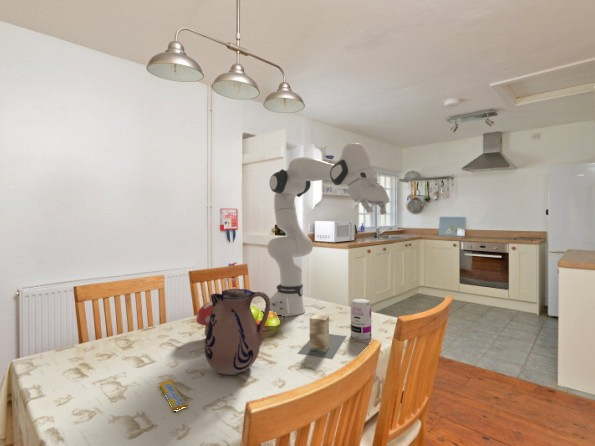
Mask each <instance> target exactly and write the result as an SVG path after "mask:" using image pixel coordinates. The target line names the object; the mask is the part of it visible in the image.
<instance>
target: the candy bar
mask: <svg viewBox="0 0 595 446" xmlns="http://www.w3.org/2000/svg"><path fill="white" fill-rule="evenodd" d="M174 382H175V381H174V379H173V378H169V379H168V380H164V381H161V382H158V386H159V385H160V386H159V388H160V390H161V389H162V390H163V391H162V390H161V391H162V393H163V392H164V393H165V395H166V396H167V398H168V400H169V402H170V404H171V406H172V408H173V410H172V412H173V411H174V410H179V409H181V408H182V407H187V406H188V407H189V403H188V402H187V403H185V400H184V399H183V397H182V396H181V394H180V393H179V390H178V389H177V387H176V385H175V383H174ZM164 393H163V394H164ZM165 395H164V396H165ZM167 398H166V399H167ZM168 400H167V401H168ZM169 402H168V403H169ZM170 404H169V405H170ZM171 406H170V407H171ZM188 407H187V408H188ZM172 408H171V409H172ZM177 408H178V409H177Z"/></svg>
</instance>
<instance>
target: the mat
mask: <svg viewBox="0 0 595 446" xmlns="http://www.w3.org/2000/svg"><path fill="white" fill-rule="evenodd" d="M346 338H347V335H340V334H333V333H329V349H328V350H327V352H326V353H321V352H315V351H310V339H309V340H308V341H307V342H306V343H305V345H304V346H303V347H301V348H300V350H299V351H298V352H297V353H296V354H297V355H303V356H304V355H306V356H309V357H310V356H311V357H316V358H322V359H327V360H333V359H334V357H335V356H336V354H337V353H338V351H339V350H340V348H341V346H342V344H343V343H344V341H345V340H346Z"/></svg>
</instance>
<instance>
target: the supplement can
mask: <svg viewBox="0 0 595 446" xmlns="http://www.w3.org/2000/svg"><path fill="white" fill-rule="evenodd" d="M350 336H351V337H352V338H354V339H356V340H358V341H359V340H360V341H363V340H369V339H371V337H372V304H371V302H370V300H369V299H367V298H353V299H352V300H351V303H350Z"/></svg>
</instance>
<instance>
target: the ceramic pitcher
mask: <svg viewBox="0 0 595 446" xmlns="http://www.w3.org/2000/svg"><path fill="white" fill-rule="evenodd" d="M256 297H260V298H262V300H264V302H265V306H266V307H265V306H264V307H265V313H263V316H262V317H261V320H260V322H259V323H258V322H257V321H256V319H255V316H254V314H253V312H252V309H251V305H252V301H253V300H254V298H256ZM269 298H270V297H269V295H267V293H265V292H263V291H262V292H261V291H251V290H250V289H246V288H245V289H243V288H230V289H225V290H222V291H221V293H212V294H210V299H211V300H210V301H211V302H212V313H211V317H210V322H209V326H208V330H207V335H205V342H204V355H205V358H206V361H207V363H208V365H209V367H211V368H212V369H213V370H214V371H215V372H217V373H218V374H221V375H225V376H234V375H235V376H236V375H238V374H241V373H243V372H245V371H248V370H249V368H250V367H251V366H253V364H254V363H255V362H256V360H257V358H258V356H259V353H260V348H261V345H262V343H263V339H264V338H263V337H264V336H263V332H264V331H263V330H264V328H265V325H266V323H267V320H268V318H269V315H270V314H269V311H270V300H269Z"/></svg>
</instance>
